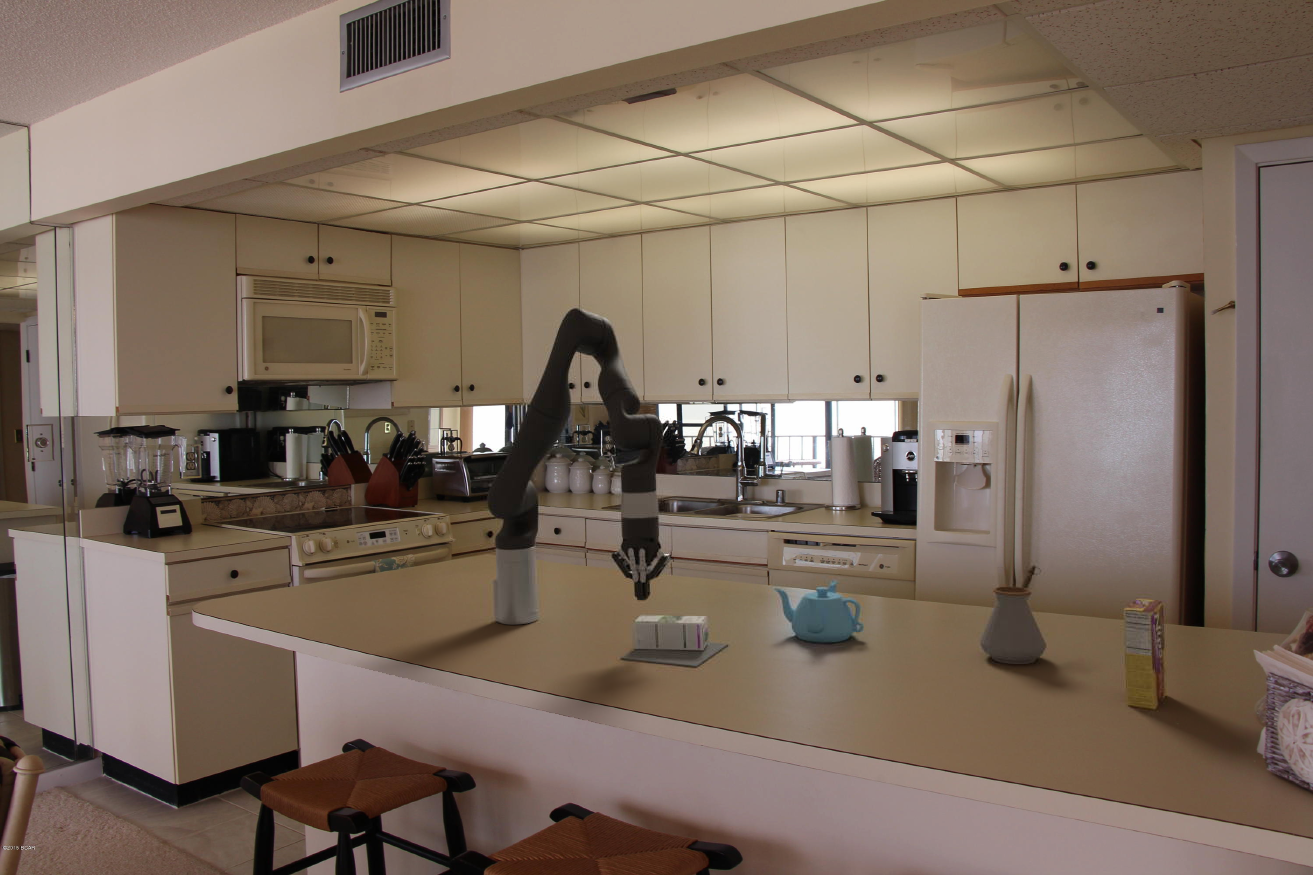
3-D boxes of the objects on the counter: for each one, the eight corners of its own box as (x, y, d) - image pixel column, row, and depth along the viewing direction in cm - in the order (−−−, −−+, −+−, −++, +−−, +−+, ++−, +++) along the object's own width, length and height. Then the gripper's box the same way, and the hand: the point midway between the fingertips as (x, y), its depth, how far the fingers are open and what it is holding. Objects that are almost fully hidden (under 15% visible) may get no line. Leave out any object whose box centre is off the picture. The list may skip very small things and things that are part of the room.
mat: (621, 658, 175) (620, 657, 175) (657, 638, 189) (657, 637, 189) (696, 667, 168) (696, 665, 168) (728, 645, 182) (728, 643, 182)
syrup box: (632, 649, 180) (704, 652, 177) (631, 620, 180) (703, 623, 177) (639, 641, 186) (709, 644, 183) (638, 613, 185) (708, 615, 182)
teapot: (873, 641, 182) (872, 591, 182) (807, 649, 177) (806, 598, 177) (836, 625, 196) (835, 578, 196) (773, 632, 191) (772, 584, 191)
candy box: (1137, 690, 147) (1136, 597, 147) (1167, 695, 144) (1166, 600, 144) (1123, 705, 140) (1122, 608, 140) (1154, 710, 138) (1153, 611, 137)
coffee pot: (1036, 671, 159) (1035, 586, 158) (971, 661, 166) (969, 580, 165) (1067, 643, 176) (1066, 567, 175) (1006, 635, 183) (1005, 562, 182)
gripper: (601, 515, 180) (604, 601, 181) (661, 517, 174) (664, 605, 175) (619, 511, 187) (622, 593, 188) (677, 512, 181) (680, 597, 182)
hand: (642, 599), depth 181 cm, fingers closed
